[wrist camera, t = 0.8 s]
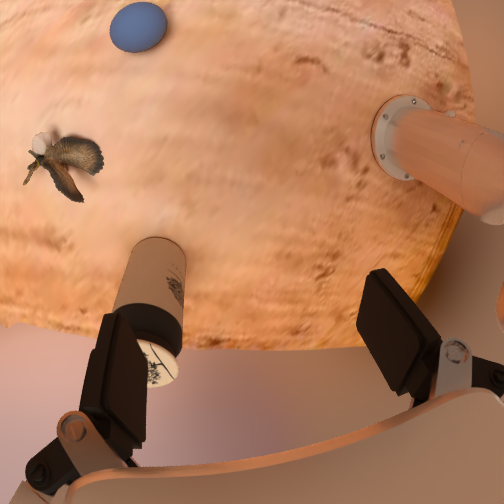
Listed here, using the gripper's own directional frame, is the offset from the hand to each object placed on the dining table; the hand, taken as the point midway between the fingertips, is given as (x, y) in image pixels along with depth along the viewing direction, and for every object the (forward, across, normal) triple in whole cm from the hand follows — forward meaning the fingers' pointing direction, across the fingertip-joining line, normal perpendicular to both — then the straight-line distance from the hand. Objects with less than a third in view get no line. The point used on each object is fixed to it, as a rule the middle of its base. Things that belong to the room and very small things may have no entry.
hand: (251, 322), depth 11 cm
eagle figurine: (+27, +18, -3) cm, 33 cm away
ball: (+24, +6, -17) cm, 30 cm away
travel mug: (+27, +9, +13) cm, 32 cm away
